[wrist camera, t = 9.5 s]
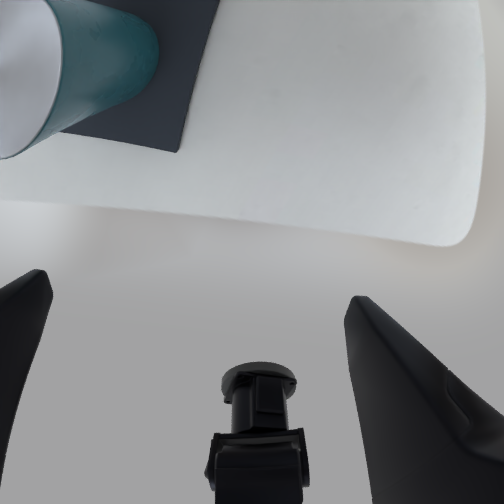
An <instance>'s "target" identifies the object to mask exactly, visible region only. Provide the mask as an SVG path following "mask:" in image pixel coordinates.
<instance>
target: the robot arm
mask: <svg viewBox="0 0 504 504" xmlns="http://www.w3.org/2000/svg"><path fill="white" fill-rule="evenodd" d="M52 300H53V290H52V287H51V285H50V281H49V278H48V275H47V273H46V272H45V271H44V270H38V269H34V270H32V271H30V272H28V273H26V274H24V275H23V276H21V277H19V278H18V279H16V280H14V281H13V282H11V283H9V284H7V285H6V286H4V287H2V288H1V289H0V485H1V479H2V473H3V468H4V462H5V457H6V455H5V454H6V452H7V447H8V443H9V438H10V434H11V430H12V426H13V422H14V419H15V415H16V411H17V408H18V404H19V401H20V398H21V394H22V391H23V388H24V385H25V382H26V379H27V375H28V373H29V370H30V367H31V364H32V361H33V358H34V356H35V353H36V350H37V348H38V345H39V342H40V339H41V336H42V333H43V329H44V326H45V322H46V319H47V316H48V312H49V309H50V306H51V303H52ZM344 328H345V336H346V346H347V355H348V364H349V372H350V377H351V382H352V386H353V391H354V396H355V401H356V406H357V411H358V416H359V421H360V427H361V432H362V438H363V444H364V449H365V454H366V461H367V468H368V474H369V480H370V487H371V494H372V502H373V504H504V416H503V415H502V414H500V413H499V412H498V411H497V410H495V409H494V408H493V407H492V406H490V405H489V404H488V403H486V402H485V401H484V400H483V399H482V398H481V397H479V396H478V395H477V394H476V393H475V392H473V391H472V390H471V389H470V388H469V387H468V386H467V385H465V384H464V383H463V382H462V381H461V380H460V379H459V378H458V377H456V375H454V374H453V373H452V372H451V371H450V370H448V368H447V367H446V366H445V365H443V363H441V362H440V361H439V360H438V359H437V358H436V357H435V356H434V355H433V354H432V353H431V352H430V351H428V350H427V349H426V348H425V347H424V346H423V345H422V344H421V343H420V342H419V341H417V340H416V339H415V338H414V337H413V336H412V335H411V334H410V333H409V332H407V331H406V330H405V329H404V328H403V327H402V326H401V325H400V324H398V323H397V322H396V321H395V320H394V319H393V318H392V317H390V316H389V315H388V314H387V313H386V312H385V311H383V310H382V309H381V308H380V307H379V306H378V305H377V304H376V303H374V302H373V301H372V300H371V299H370V298H369V297H367V296H354V297H353V298H352V299H351V302H350V304H349V307H348V310H347V312H346V315H345V318H344ZM296 384H297V380H296V379H295V378H290V377H281V376H273V375H266V374H259V373H252V372H245V371H238V372H236V373H235V376H234V378H233V380H232V382H231V384H230V386H229V388H228V391H227V393H226V395H225V397H224V403H226V404H232V430H231V433H230V434H220V433H214V437H213V439H212V440H211V448H210V454H209V460H208V463H207V466H206V469H205V472H204V474H205V477H206V478H207V479H208V480H209V483H210V487H211V489H212V491H215V504H302V502H303V490H302V487H309V485H310V484H309V483H310V478H309V464H308V456H307V449H306V443H305V436H304V430H303V428H298V429H294V430H289V426H288V416H287V404H286V397H287V396H288V395H289V393H290V392H291V391H292V389H293V388H294V387H295V385H296Z"/></svg>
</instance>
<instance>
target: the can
mask: <svg viewBox="0 0 504 504" xmlns="http://www.w3.org/2000/svg"><path fill="white" fill-rule="evenodd" d="M158 60H159V44H158V39H157V37H156V34H155V32H154V31H153V29H152V28H151V26H150V25H149V24H148V23H147V22H146V21H145V20H143V19H142V18H140V17H138V16H136V15H133V14H130V13H127V12H124V11H121V10H118V9H115V8H111V7H108V6H104V5H101V4H97V3H94V2H90V1H86V0H0V159H7V158H10V157H14V156H16V155H18V154H20V153H22V152H23V151H25V150H27V149H28V148H30V147H32V146H34V145H35V144H37V143H39V142H41V141H42V140H44V139H46V138H48V137H50V136H52V135H54V134H55V133H57V132H59V131H61V130H63V129H65V128H67V127H69V126H71V125H73V124H75V123H77V122H79V121H81V120H84V119H86V118H88V117H90V116H92V115H94V114H97V113H99V112H101V111H103V110H106V109H108V108H110V107H113V106H115V105H118V104H120V103H122V102H125V101H127V100H129V99H131V98H133V97H134V96H136V95H137V94H139V93H140V92H141V91H142V90H143V89H144V88H145V87H146V86H147V84H148V83H149V82H150V80H151V79H152V77H153V75H154V73H155V71H156V68H157V65H158Z"/></svg>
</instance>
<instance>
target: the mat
mask: <svg viewBox="0 0 504 504" xmlns="http://www.w3.org/2000/svg"><path fill="white" fill-rule="evenodd" d="M86 1H90V2H94V3H97V4H101V5H104V6H108V7H111V8H115V9H118V10H121V11H124V12H127V13H130V14H133V15H136V16H138V17H140V18H142V19H143V20H145V21H146V22H147V23H148V24H149V25H150V26H151V28H152V29H153V31H154V32H155V34H156V37H157V39H158V44H159V60H158V65H157V68H156V71H155V73H154V75H153V77H152V79H151V80H150V82H149V83H148V84H147V86H146V87H145V88H144V89H143V90H142V91H141V92H140V93H139V94H137V95H136V96H134V97H133V98H131V99H129V100H127V101H125V102H122V103H120V104H118V105H115V106H113V107H110V108H108V109H106V110H103V111H101V112H99V113H97V114H94V115H92V116H90V117H88V118H86V119H84V120H81V121H79V122H77V123H75V124H73V125H71V126H69V127H67V128H65V129H63V130H61V131H59V132H64V133H71V134H77V135H84V136H90V137H96V138H102V139H108V140H114V141H119V142H125V143H130V144H135V145H140V146H145V147H150V148H155V149H160V150H165V151H170V152H174V153H177V151H178V150H179V145H180V141H181V136H182V132H183V127H184V123H185V119H186V115H187V111H188V106H189V102H190V99H191V95H192V91H193V87H194V83H195V79H196V76H197V72H198V68H199V65H200V61H201V58H202V54H203V51H204V48H205V44H206V41H207V38H208V34H209V31H210V28H211V25H212V22H213V19H214V16H215V13H216V10H217V7H218V4H219V1H220V0H86Z"/></svg>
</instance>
